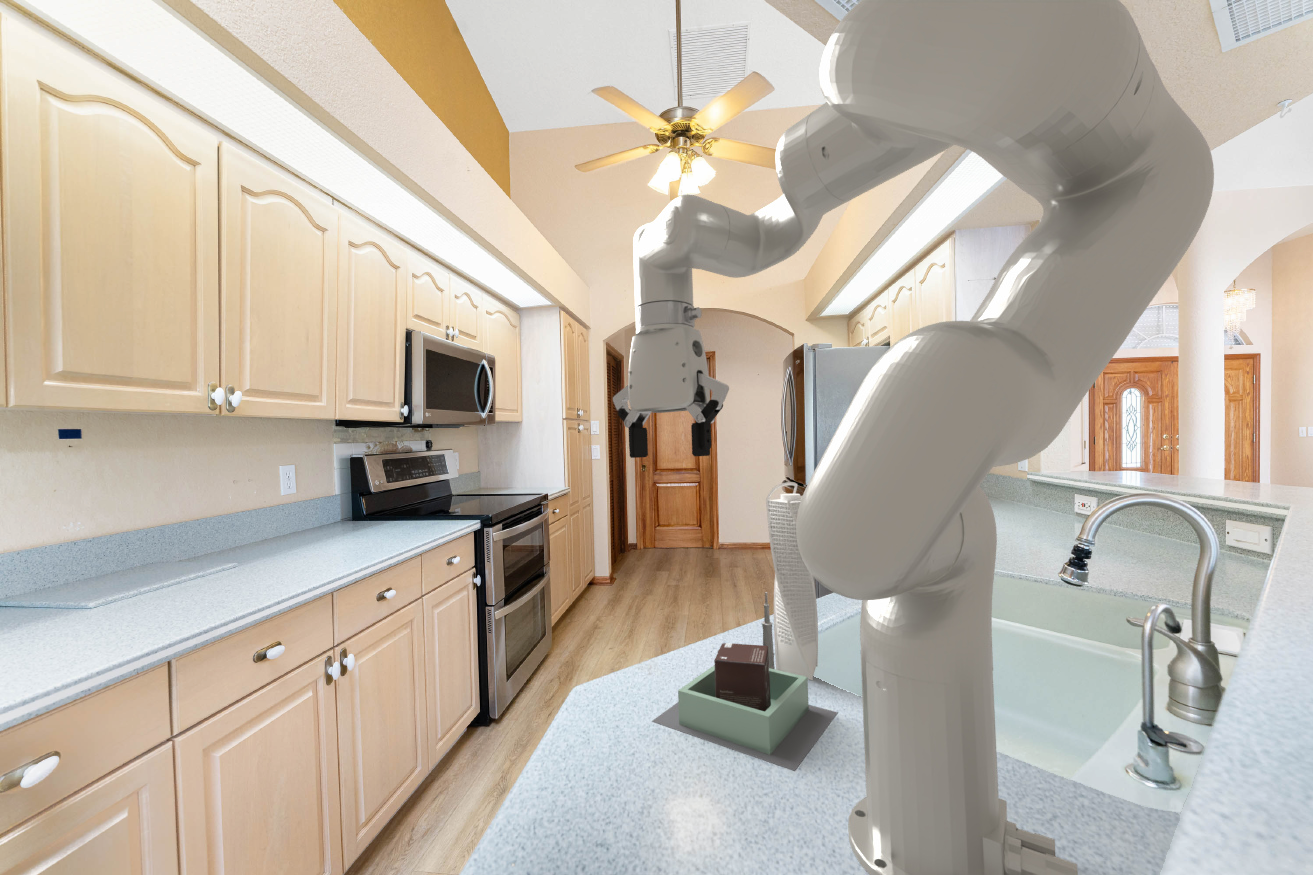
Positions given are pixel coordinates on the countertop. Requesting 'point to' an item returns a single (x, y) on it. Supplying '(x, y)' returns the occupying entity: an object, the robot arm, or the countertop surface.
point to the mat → (785, 753)
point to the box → (743, 675)
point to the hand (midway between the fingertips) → (668, 456)
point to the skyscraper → (790, 593)
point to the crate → (745, 711)
